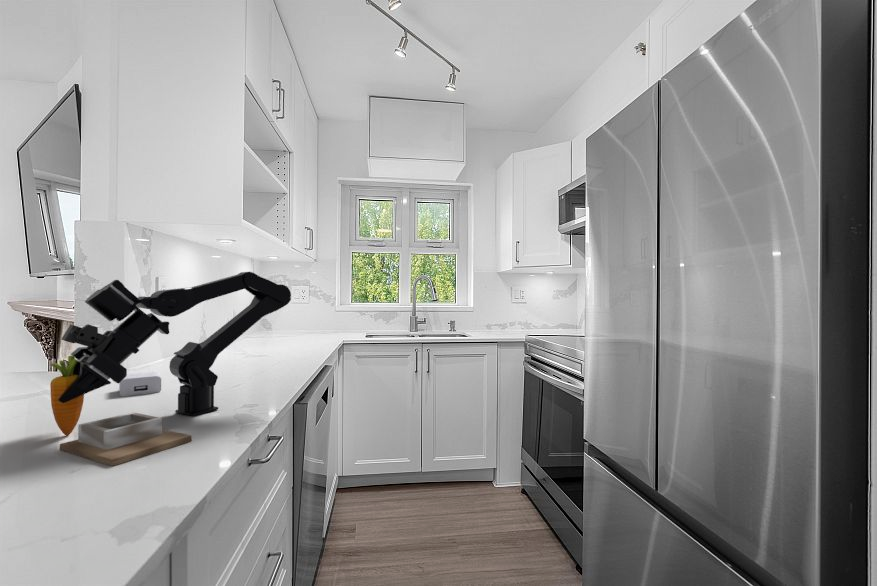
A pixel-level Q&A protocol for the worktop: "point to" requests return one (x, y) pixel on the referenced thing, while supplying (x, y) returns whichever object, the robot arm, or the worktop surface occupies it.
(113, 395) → the worktop surface
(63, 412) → the carrot
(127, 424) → the holder
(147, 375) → the charger
